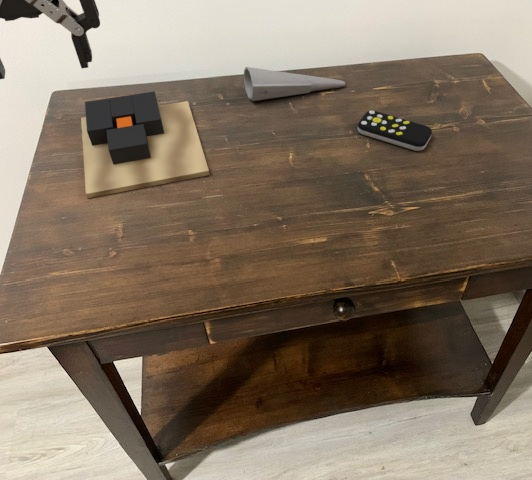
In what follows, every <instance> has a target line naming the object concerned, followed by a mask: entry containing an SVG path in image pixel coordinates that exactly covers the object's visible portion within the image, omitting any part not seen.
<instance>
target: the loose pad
mask: <svg viewBox="0 0 532 480" xmlns="http://www.w3.org/2000/svg"><path fill="white" fill-rule="evenodd" d="M116 120H117V128H116V129H110V130H106V132H107V141H108V149H109V153H110V156H111V159H112V162H113V164H120V163H125V162H131V161H137V160H142V159H148V158H151V155H150V150H149V145H148V140H147V135H146V132H145V128H144V124H140V125H134V126H133V122H132V119H131V116H130V117H124V118H118V119H116Z"/></svg>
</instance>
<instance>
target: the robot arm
mask: <svg viewBox="0 0 532 480" xmlns="http://www.w3.org/2000/svg"><path fill="white" fill-rule="evenodd" d="M78 1H79V3H80V6H81V9H82V13H80V14H79V13H77V12H76V11H74V10H73V9H72V8H71V7H69V6H68V5H67V4H66V2H65V1H64V0H0V19H2V20H4V21H5V22H11V21H16V20H19V19H21V18H24V19H38V18H40V15H42V14H44V15H45V16H46V17H47V18H48V19H50V20H51V21H53V22H54V23H55V24H59V25H60V26H62V27H63V28H64V29H66V30H67V31H68V32H70V37H71V41H72V44H73V47H74V50H75V54H76V56H77V59H78V62H79V65H80V68H81V69H87V68H89V63H92V62H93V52H92V49H91V48H92V47H91V45H90V44H91V43H90V42H89V38H88V35H87V32H88V31H89V30H91V29H98V28H99V27H100V26H101V19H100V12H99V8H98V6H97V3H96V1H95V0H78ZM5 78H6V68H5V66H4V63H3V61H2V59H1V58H0V80H4V79H5Z"/></svg>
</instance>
